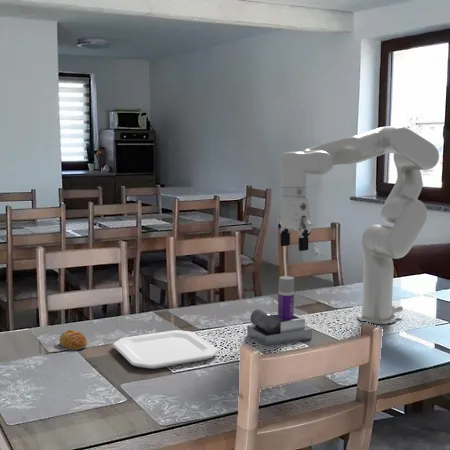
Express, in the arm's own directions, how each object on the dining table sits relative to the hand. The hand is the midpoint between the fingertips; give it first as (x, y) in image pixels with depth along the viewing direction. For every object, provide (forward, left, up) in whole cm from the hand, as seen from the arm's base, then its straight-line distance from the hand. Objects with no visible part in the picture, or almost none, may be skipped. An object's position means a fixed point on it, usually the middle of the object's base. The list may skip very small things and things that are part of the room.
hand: (294, 248), depth 189 cm
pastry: (+65, -15, -26) cm, 72 cm away
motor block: (+8, +5, -26) cm, 27 cm away
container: (+6, +5, -23) cm, 24 cm away
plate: (+44, +3, -26) cm, 51 cm away
